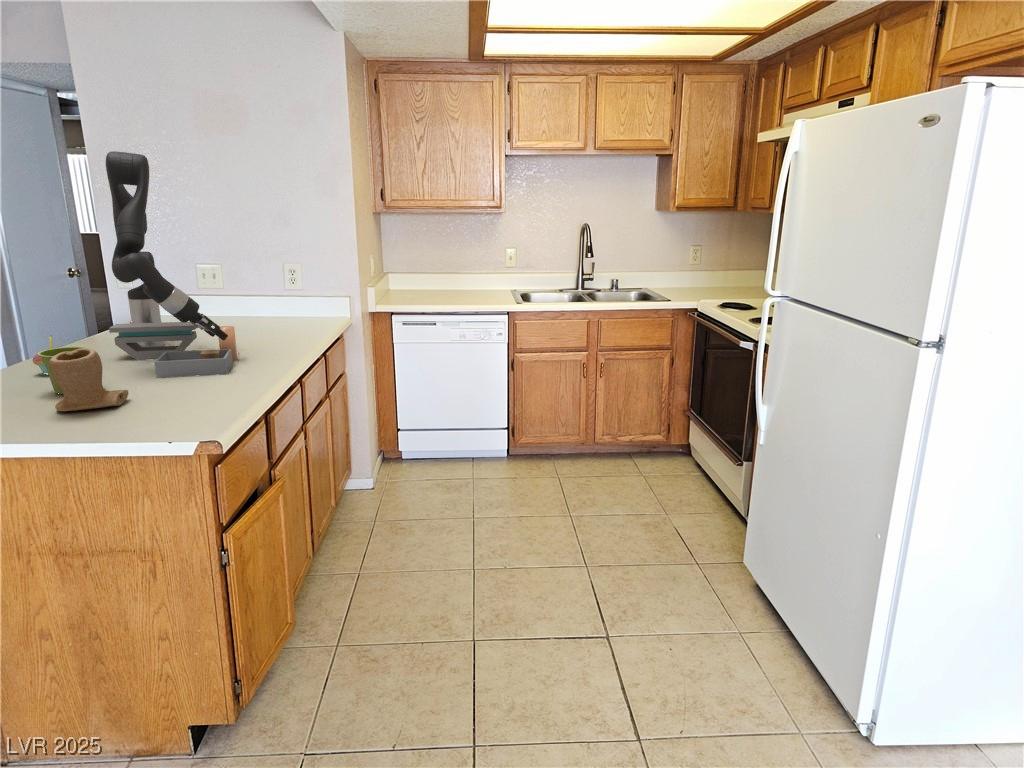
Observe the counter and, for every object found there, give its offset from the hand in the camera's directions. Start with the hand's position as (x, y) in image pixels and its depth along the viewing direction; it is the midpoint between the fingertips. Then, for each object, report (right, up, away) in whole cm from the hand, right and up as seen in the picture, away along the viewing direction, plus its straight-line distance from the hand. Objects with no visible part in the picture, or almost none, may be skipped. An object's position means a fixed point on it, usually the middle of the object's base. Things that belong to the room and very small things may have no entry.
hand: (220, 336), depth 210 cm
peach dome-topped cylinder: (+1, -8, +4) cm, 9 cm away
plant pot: (-25, -18, -34) cm, 46 cm away
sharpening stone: (-24, -7, +8) cm, 26 cm away
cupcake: (-43, -13, -16) cm, 47 cm away
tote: (-3, -11, -10) cm, 15 cm away
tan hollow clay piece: (-11, -22, -48) cm, 53 cm away
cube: (+1, -10, -8) cm, 13 cm away
